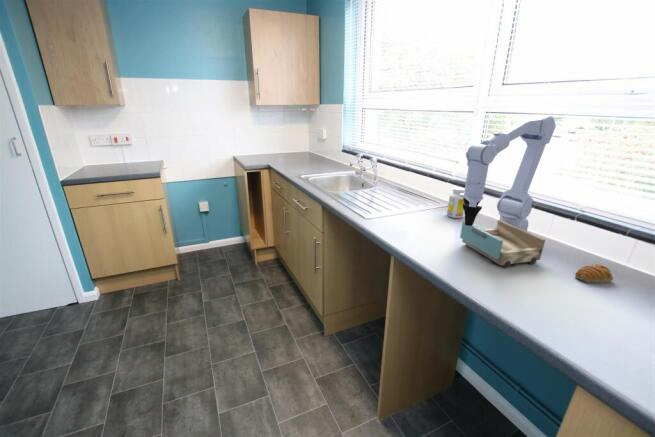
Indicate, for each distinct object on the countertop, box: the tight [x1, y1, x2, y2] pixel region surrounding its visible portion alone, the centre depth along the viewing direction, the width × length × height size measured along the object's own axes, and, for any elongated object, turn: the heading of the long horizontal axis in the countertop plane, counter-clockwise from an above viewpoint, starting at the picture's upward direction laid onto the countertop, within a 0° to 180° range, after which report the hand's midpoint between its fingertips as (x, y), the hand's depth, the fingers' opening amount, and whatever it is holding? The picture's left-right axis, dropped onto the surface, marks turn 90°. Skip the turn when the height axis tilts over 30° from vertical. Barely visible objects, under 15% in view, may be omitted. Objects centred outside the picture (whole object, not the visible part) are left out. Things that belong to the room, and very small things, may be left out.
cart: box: [461, 219, 546, 269], centre depth 104 cm, size 15×18×8 cm
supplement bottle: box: [446, 186, 465, 219], centre depth 140 cm, size 7×7×13 cm
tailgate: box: [459, 220, 503, 259], centre depth 101 cm, size 2×17×6 cm, turn 15°
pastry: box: [575, 263, 614, 285], centre depth 91 cm, size 9×7×4 cm
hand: (468, 221), depth 105 cm, fingers open, 7 cm apart
